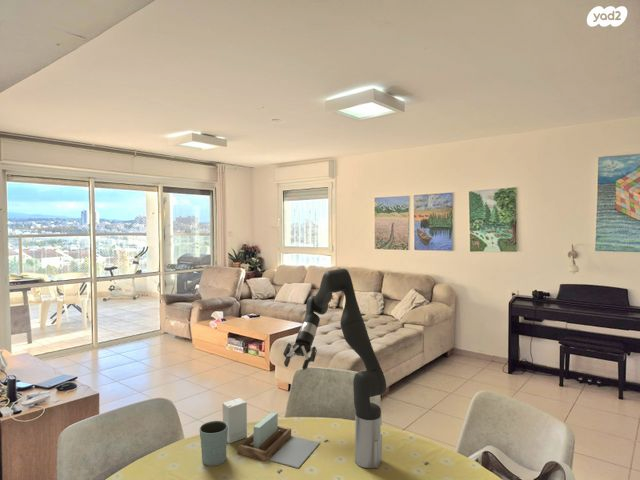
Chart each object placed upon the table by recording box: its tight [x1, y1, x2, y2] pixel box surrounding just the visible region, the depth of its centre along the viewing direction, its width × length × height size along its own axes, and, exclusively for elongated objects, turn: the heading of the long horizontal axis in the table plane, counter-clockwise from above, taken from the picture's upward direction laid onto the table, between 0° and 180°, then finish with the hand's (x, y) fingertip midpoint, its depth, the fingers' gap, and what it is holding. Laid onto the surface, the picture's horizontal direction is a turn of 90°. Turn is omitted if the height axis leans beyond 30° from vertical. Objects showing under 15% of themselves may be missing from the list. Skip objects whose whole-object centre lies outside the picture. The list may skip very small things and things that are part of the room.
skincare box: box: [222, 397, 248, 444], centre depth 166 cm, size 8×6×15 cm
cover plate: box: [253, 411, 279, 449], centre depth 161 cm, size 2×14×10 cm, turn 157°
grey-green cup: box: [199, 420, 228, 466], centre depth 151 cm, size 10×10×12 cm
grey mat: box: [268, 435, 321, 469], centre depth 156 cm, size 12×19×1 cm, turn 156°
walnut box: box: [237, 425, 292, 462], centre depth 161 cm, size 12×20×3 cm, turn 157°
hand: (294, 367), depth 176 cm, fingers open, 8 cm apart
